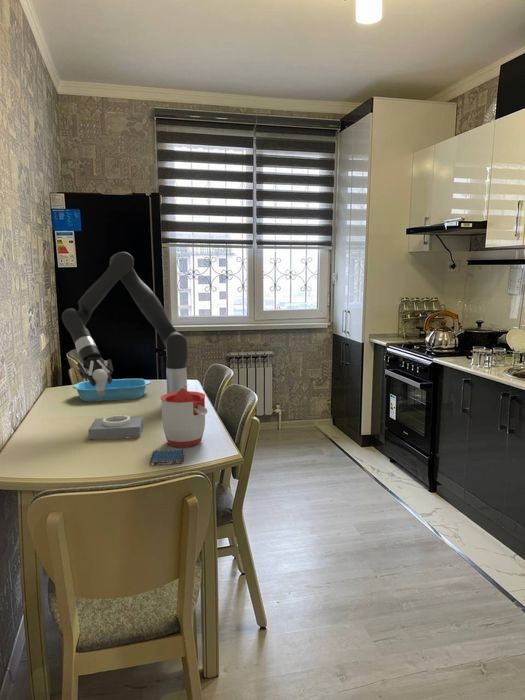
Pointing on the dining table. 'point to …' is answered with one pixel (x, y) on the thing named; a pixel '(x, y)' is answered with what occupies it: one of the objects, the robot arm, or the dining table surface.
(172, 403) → the citrus juicer
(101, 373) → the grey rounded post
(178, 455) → the woven mat
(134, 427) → the grey ring holder base
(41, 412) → the dining table surface
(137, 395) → the casserole dish
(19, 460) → the dining table surface
